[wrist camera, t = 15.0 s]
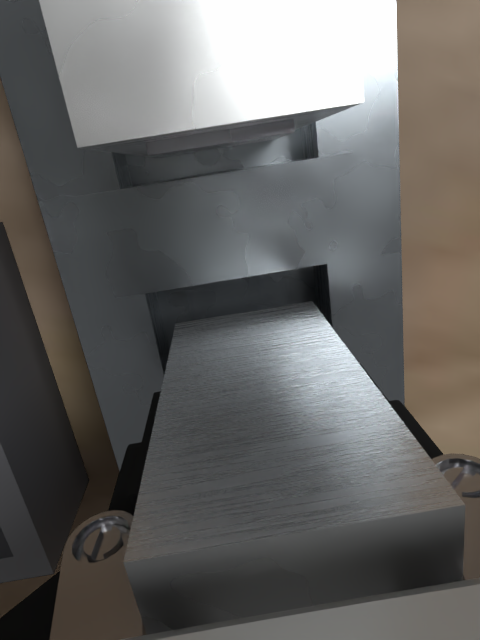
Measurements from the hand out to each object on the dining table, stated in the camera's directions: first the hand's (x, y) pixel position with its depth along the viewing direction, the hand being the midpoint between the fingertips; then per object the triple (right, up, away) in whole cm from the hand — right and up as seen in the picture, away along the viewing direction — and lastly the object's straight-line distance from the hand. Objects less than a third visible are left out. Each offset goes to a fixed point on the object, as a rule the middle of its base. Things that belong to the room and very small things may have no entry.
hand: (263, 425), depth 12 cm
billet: (0, +1, +2) cm, 2 cm away
